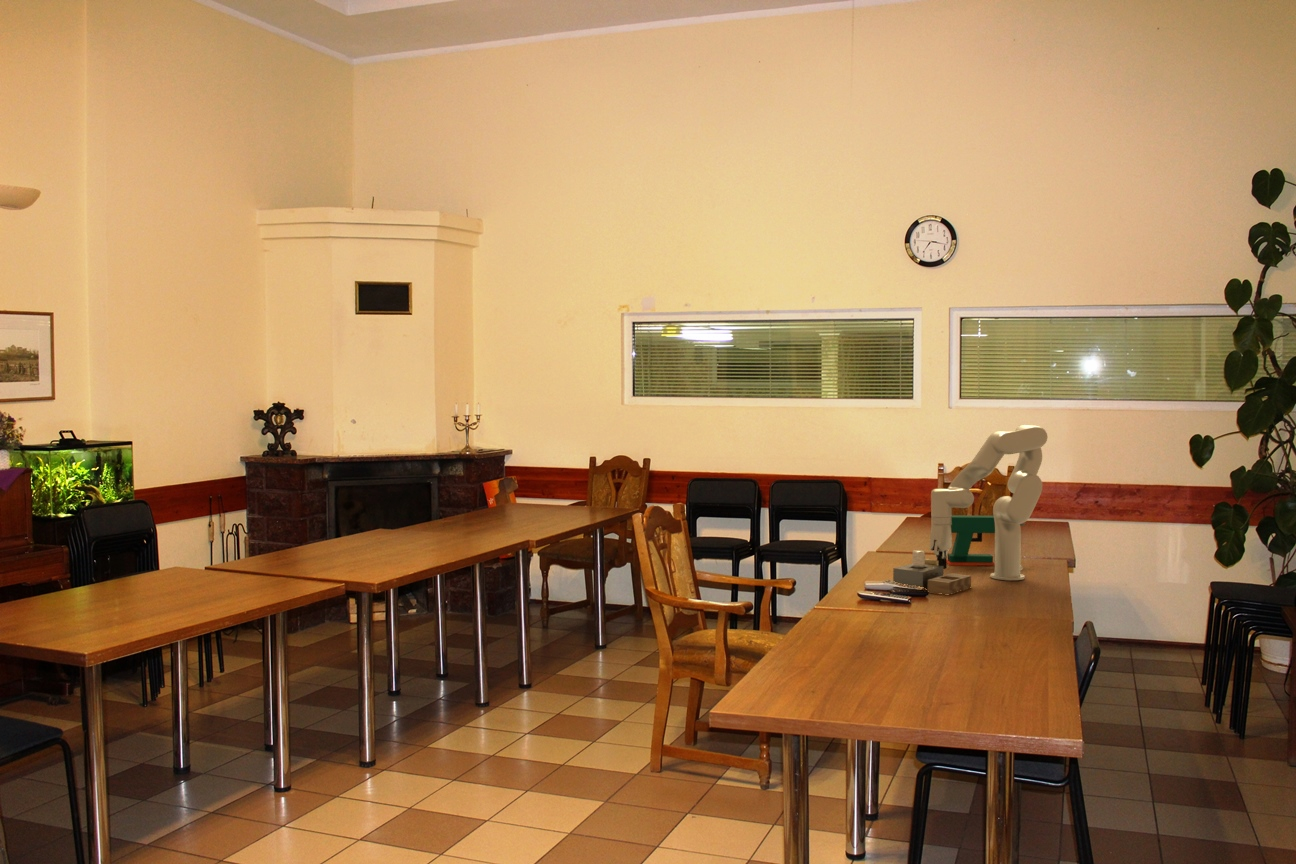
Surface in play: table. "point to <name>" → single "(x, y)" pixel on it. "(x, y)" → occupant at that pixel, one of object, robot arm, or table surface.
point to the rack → (949, 583)
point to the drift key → (931, 562)
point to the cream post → (919, 559)
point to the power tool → (970, 539)
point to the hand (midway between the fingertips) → (941, 568)
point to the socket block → (917, 574)
